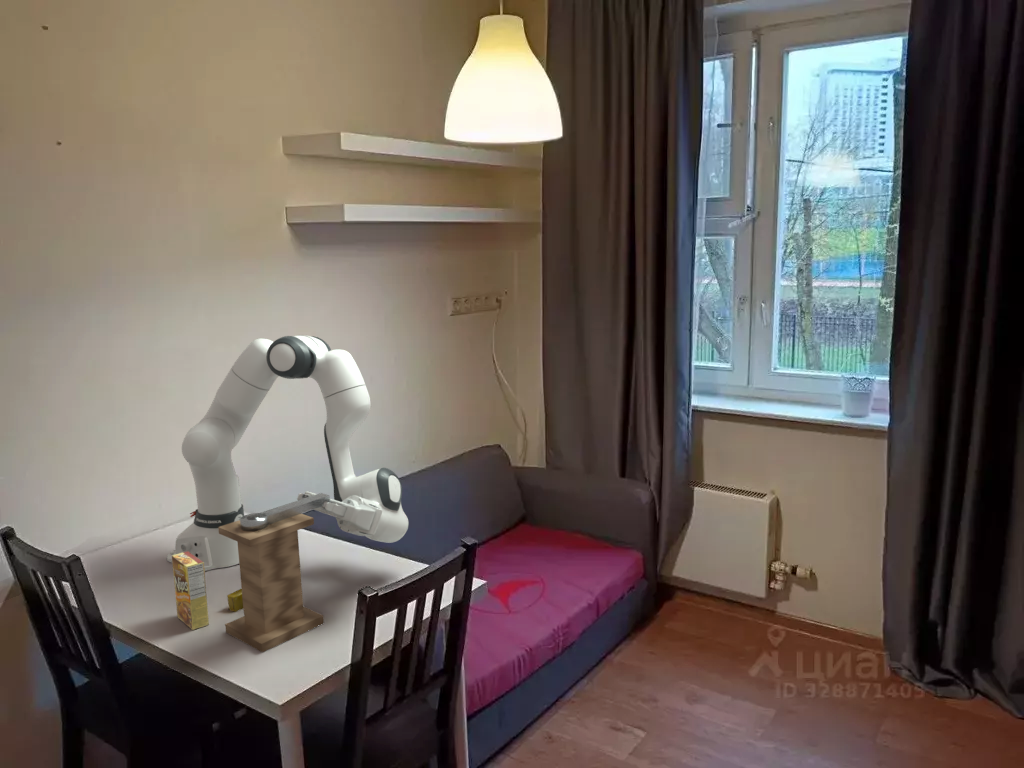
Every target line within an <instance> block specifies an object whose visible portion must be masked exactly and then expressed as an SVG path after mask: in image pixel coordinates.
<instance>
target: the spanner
mask: <svg viewBox="0 0 1024 768" xmlns="http://www.w3.org/2000/svg"><path fill="white" fill-rule="evenodd" d="M315 494H316V495H313V496H310V497H307V498H304V499H301V500H295V501H292V502H289V503H286V504H283V505H280V506H277V507H273V508H271V509H270V508H269V509H266V510H264V511H262V512H253V513H248V514H246V515H245V514H244V516H243V517H241V518H240V525H241V529H242V530H243V531H258V530H262V529H264V528H266V527H267V526H268V525H269V524H272V523H275V522H278V521H281V520H284V519H287V518H289V517H292V516H295V515H298V514H304V513H306V512H309V511H312V510H313V509H316V508H319V507H322V506H323V505H324V502H325V501H326V502H330V499H331V498H330V497H331V496H330V495H329V494H327V493H323V492H320V493H315Z"/></svg>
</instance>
